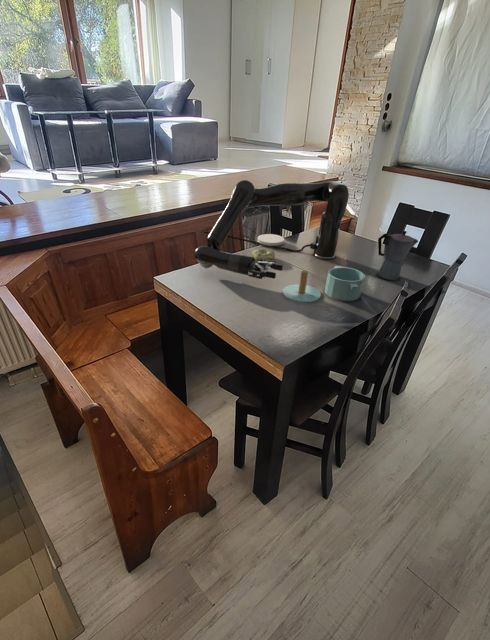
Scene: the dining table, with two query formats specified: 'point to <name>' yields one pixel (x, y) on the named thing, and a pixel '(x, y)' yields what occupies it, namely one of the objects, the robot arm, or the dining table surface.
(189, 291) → the dining table surface
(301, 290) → the pot lid
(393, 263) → the moka pot
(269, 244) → the plastic lid
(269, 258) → the decorated donut
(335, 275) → the pot
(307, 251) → the dining table surface
